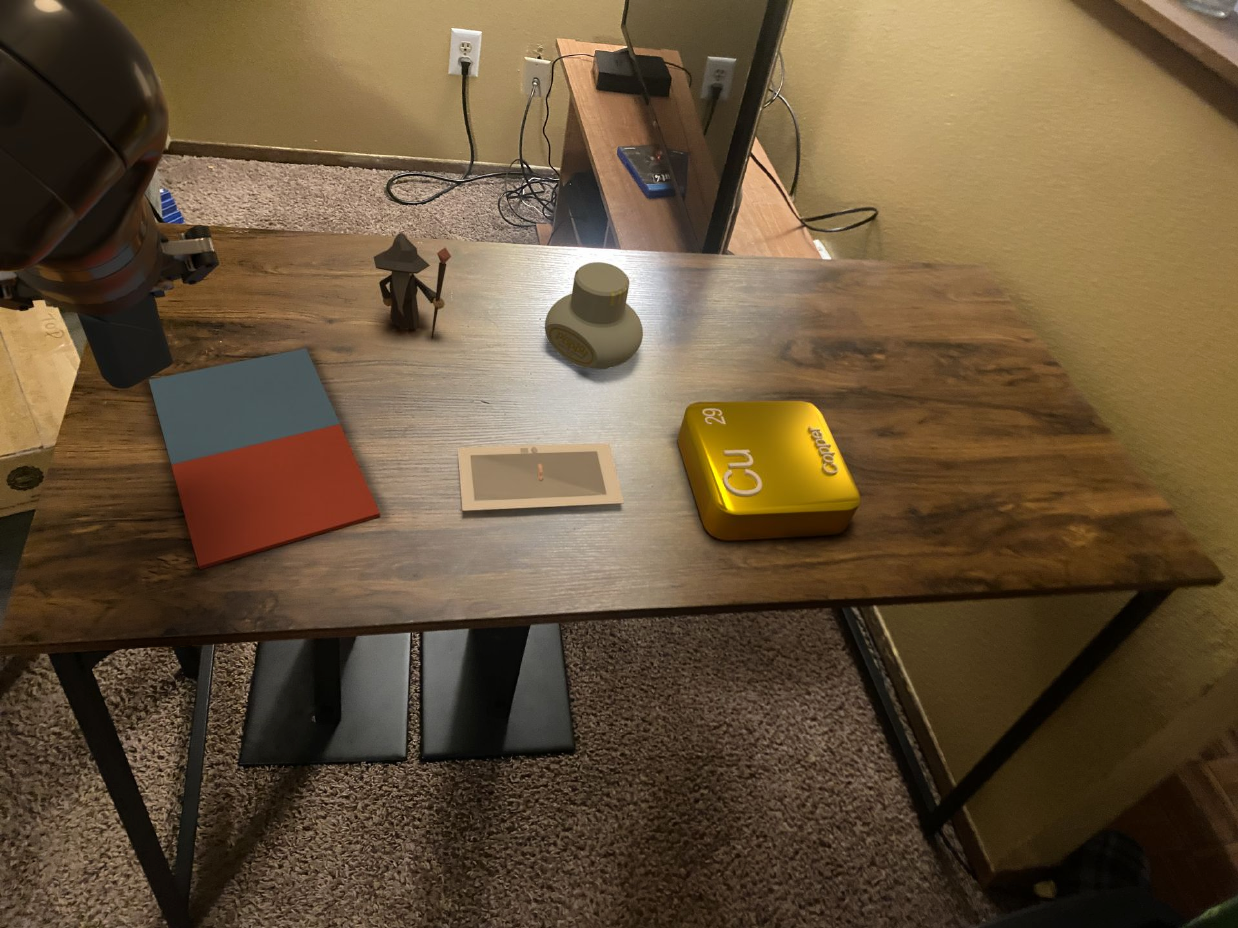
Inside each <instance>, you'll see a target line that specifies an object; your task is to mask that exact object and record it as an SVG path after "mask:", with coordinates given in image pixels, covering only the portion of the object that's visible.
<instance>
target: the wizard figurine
mask: <svg viewBox="0 0 1238 928" xmlns="http://www.w3.org/2000/svg"><path fill="white" fill-rule="evenodd" d="M436 254H437V257H438V259H439V262H438V270H437V279H436V280H437V281H436V290H433V289H431V288H429V286H427V285H426V284H425V283H424V282H422V281H421V280H420V279H419V278H418V277H417V276H415V275H417V274H419V273H421V272H422V271H424V270H427V269H428V268H429V267H430V266H431V264H430V263H428V262H427V260H425V259H424V258H423V257H421V255H420V254H418V248H417V246H415V245H414V244H413V243H412V242H411V240H410V239H408V237H407V235H405V233H404V232H400V233H398V234H397V235H396V236H395V238H394V239H393V242H392V245H391V246H390V247H389V248H388V249H387V250H384V251H382V252H380V253H377V254H376V255H375V256H373V262H374V265H375V269H378V270H383V271H388V272H391V273H390V275H388V276H386V277H385V278H382V279H381V280H380V281H379V282H378V284H379V288H380V294H381V297H382V303H383V305H384V306H386V307H390V314H389V319H390V322H391V330H392V331H395V332H397V333H398V332H400V330H407V333H408V334H411V333H412V334H413V333H417V330H418V329H417V328H418V327H419V326H420V325H421V320H420V313H419V305H418V298H417V295H418V289H419V290H420V291H421V293H422V294H423V295H424V296H425V298H426V299H427V301H428V302H429V303H430V304H432V305H433V307H434V311H433V318H432V327H431V336H430V338H431V339H434V336H435V335H434V334H435V328H436V324H437V317H438V311H439V310H441V309H443V308H444V307H445V305H446V304H445V300H444V299H443V298H442V297H441V295H442V291H443V290H442V289H443V284H444V281H445V275H446V269H447V262H448V261H449V260H450V259H451V258H452V255H451V254H450V252H449V251H448V249H447V247H443V248H442V249H440V250H439V251H438V252H437V253H436ZM387 285H389V286H388V287H387Z"/></svg>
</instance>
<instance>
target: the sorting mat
mask: <svg viewBox="0 0 1238 928" xmlns="http://www.w3.org/2000/svg"><path fill="white" fill-rule="evenodd" d="M148 383H149V388H150V391H151V395H152V398H153V403H154V406H155V410H156V414H157V417H158V421H159V425H160V429H161V433H162V436H163V438H164V439H163V440H164V444H165V447H166V450H167V451H166V452H167V454H168V455H167V456H168V459H169V462H170V466H171V469H172V474H173V477H174V481H175V484H176V488H177V492H178V495H179V499H180V503H181V508H182V511H183V514H184V518H185V521H186V526H187V529H188V534H189V536H190V540H191V544H192V548H193V552H194V555H195V556H194V557H195V560H196V563H197V567H198V569H199V570H203V569H206V568H209V567H213V566H217V565H220V564H223V563H226V562H230V561H234V560H237V559H240V558H243V557H247V556H250V555H251V556H252V555H254V554H258V553H261V552H264V551H268V550H271V549H274V548H278V547H281V546H284V545H288V544H291V543H294V542H297V541H302V540H304V539H309V538H311V537H312V538H313V537H314V536H319V535H321V534H325V533H329V532H332V531H335V530H339V529H342V528H345V527H349V526H352V525H355V524H359V523H362V522H366V521H369V520H373V519H376V518H379V517H381V514H380V510H379V508H378V506H377V504H376V501H375V500H374V497H373V495H372V492H371V490H370V488H369V485H368V484H367V482H366V481H367V480H366V479H365V477H364V474H363V472H362V470H361V467H360V465H359V463H358V460H357V459H356V456H355V454H354V452H353V449H352V448H351V445H350V443H349V440H348V439H347V436H346V434H345V432H344V429H343V427H342V425H341V422H340V421H339V418H338V416H337V414H336V412H335V410H334V407H333V404H332V402H331V401H330V397H329V396H328V393H327V392H326V391H327V390H326V389H325V387H324V384H323V383H322V380H321V377H320V375H319V373H318V371H317V369H316V366H315V365H314V362H313V359H312V357H311V355H310V352H309V351H308V349H307V348H306V347H305V348H300V349H295V350H290V351H284V352H280V353H274V354H270V355H265V356H260V357H256V358H255V357H254V358H250V359H245V360H240V361H234V362H230V363H225V364H219V365H216V366H211V367H205V368H200V369H196V370H191V371H185V372H180V373H174V374H170V375H165V376H160V377H155V378H149V379H148Z"/></svg>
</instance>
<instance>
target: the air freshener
mask: <svg viewBox="0 0 1238 928" xmlns="http://www.w3.org/2000/svg"><path fill="white" fill-rule="evenodd" d="M574 272H575V273H574V277H573V284H572V290H571V293H569V294H567V295H565V296H563V297H561V298H560V299H558V300H557V301H556V302H555V303H554V304H553V305H552V306H551V307H550V309H549V310H548V312H547V314H546V317H545V319H544V320H545V321H544V333H545V336H546V339H547V341H548V343H549V344H550V346H551V347H552V348H553V350H554V351H555V352H556V353H557V354H558V355H560V356H561V357H562V358H563V359H564V360H566V361H568V362H569V363H571V364H573V365H575V366H577V367H579V368H580V367H581V368H585V369H590V370H607V369H612V368H615V367H619V366H621V365H623V364H624V363H626V362H628V361H629V360H630V359H631V358H633V357H634V356H635V355H636V354H637V352H638V351H639V349H640V348H641V345H642V342H643V337H644V331H643V330H644V329H643V325H642V322H641V319H640V317H639V315H638V313H637V312H636V311H635V310H634V308H632V307H631V306H630V304H628V303H627V299H628V294H629V289H630V279H629V276H628V275H627V274H626V273H625V272H624V270H622V269H621V268H619V267H618V266H616V265H614V264H612V263H608V262H600V261H593V262H589V263H585V264H583V265H582V266H580V267H579V268H578V269H577V270H575V271H574Z"/></svg>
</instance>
